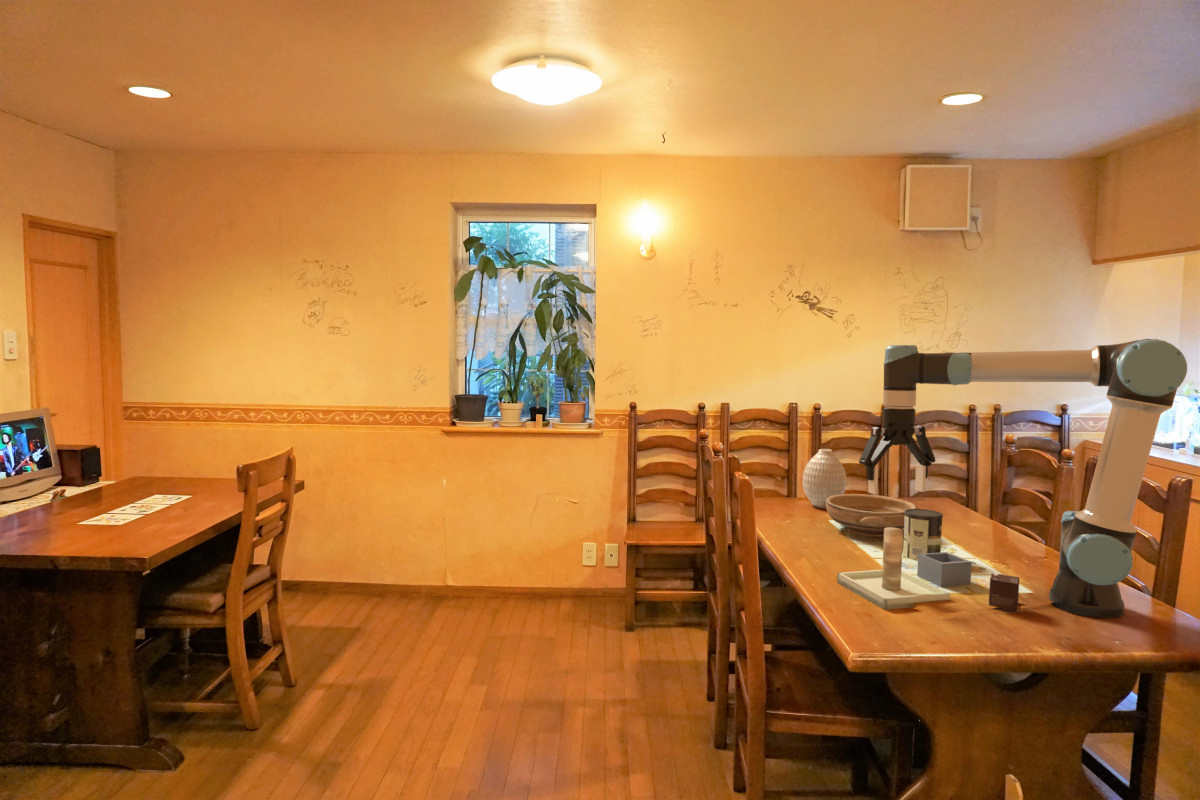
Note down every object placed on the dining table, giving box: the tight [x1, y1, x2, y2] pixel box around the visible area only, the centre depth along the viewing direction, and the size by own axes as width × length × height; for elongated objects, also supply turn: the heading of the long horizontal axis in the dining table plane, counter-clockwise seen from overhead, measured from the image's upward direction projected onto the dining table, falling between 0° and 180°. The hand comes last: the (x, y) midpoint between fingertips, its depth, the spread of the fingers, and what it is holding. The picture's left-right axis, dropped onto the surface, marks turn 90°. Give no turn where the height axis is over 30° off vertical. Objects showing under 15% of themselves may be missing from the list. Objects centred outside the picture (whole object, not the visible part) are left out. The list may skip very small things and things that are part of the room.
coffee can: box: [902, 508, 944, 562], centre depth 211 cm, size 10×10×14 cm
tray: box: [836, 568, 951, 611], centre depth 183 cm, size 20×18×3 cm
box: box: [988, 573, 1020, 614], centre depth 173 cm, size 6×6×7 cm
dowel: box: [881, 528, 904, 591], centre depth 182 cm, size 4×4×15 cm
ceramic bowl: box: [825, 493, 918, 538], centre depth 242 cm, size 37×29×10 cm
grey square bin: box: [916, 551, 973, 588], centre depth 190 cm, size 9×9×7 cm
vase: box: [802, 448, 847, 509], centre depth 280 cm, size 16×16×22 cm
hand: (896, 492), depth 181 cm, fingers open, 13 cm apart
